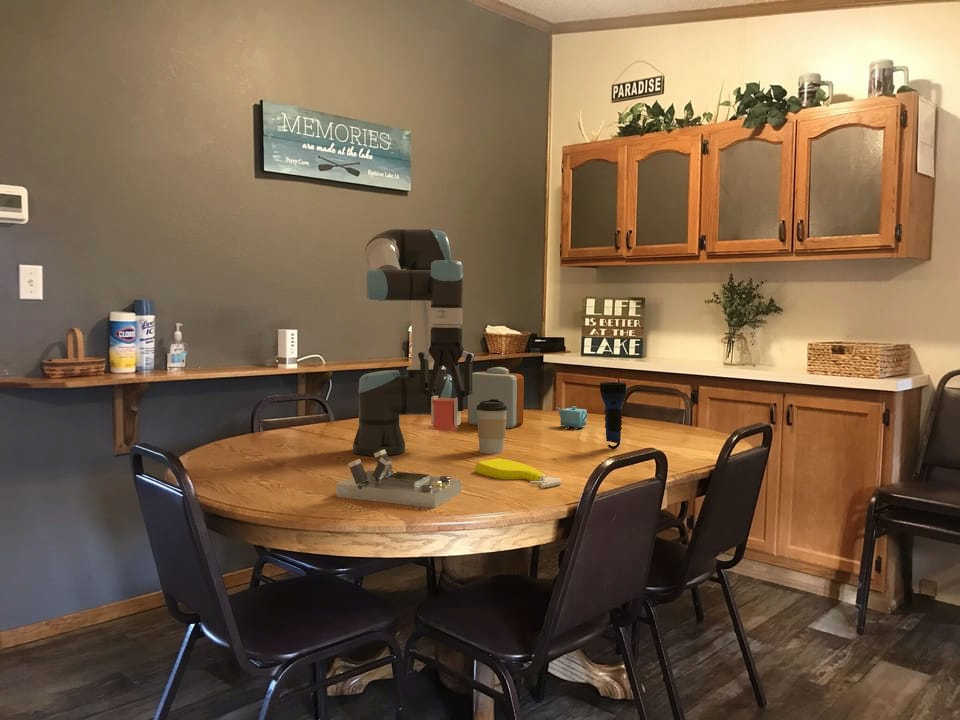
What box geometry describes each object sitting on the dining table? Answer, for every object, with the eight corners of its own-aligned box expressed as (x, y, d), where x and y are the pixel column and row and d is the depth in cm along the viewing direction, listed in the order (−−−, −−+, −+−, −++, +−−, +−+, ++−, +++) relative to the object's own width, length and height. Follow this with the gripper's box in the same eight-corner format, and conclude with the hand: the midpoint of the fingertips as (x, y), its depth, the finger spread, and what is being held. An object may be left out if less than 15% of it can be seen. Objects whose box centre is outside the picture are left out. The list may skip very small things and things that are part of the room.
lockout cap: (432, 429, 184) (432, 400, 184) (439, 426, 189) (439, 397, 188) (452, 430, 183) (452, 401, 182) (459, 427, 187) (459, 398, 187)
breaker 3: (371, 475, 178) (381, 457, 177) (376, 473, 180) (386, 455, 179) (378, 479, 177) (387, 461, 176) (383, 477, 180) (392, 459, 178)
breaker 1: (356, 484, 173) (347, 463, 173) (361, 482, 175) (353, 461, 175) (362, 481, 172) (354, 460, 172) (368, 479, 174) (359, 458, 175)
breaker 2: (381, 473, 184) (373, 453, 184) (386, 471, 186) (378, 451, 186) (388, 470, 183) (380, 450, 184) (392, 468, 185) (384, 449, 186)
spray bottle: (502, 468, 208) (570, 486, 190) (471, 473, 201) (539, 493, 183) (502, 457, 208) (571, 474, 189) (471, 462, 201) (539, 481, 182)
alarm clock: (524, 426, 276) (524, 368, 274) (511, 429, 268) (512, 369, 267) (479, 421, 285) (480, 365, 284) (466, 424, 278) (467, 366, 276)
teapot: (551, 427, 274) (552, 406, 273) (558, 425, 279) (559, 404, 278) (583, 430, 268) (583, 408, 267) (590, 428, 273) (590, 406, 272)
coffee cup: (503, 455, 223) (504, 403, 222) (473, 453, 225) (473, 402, 224) (509, 449, 232) (509, 399, 231) (479, 447, 234) (479, 398, 233)
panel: (336, 497, 174) (336, 478, 174) (368, 482, 188) (368, 465, 188) (434, 508, 166) (434, 488, 166) (461, 492, 180) (461, 474, 180)
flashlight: (593, 447, 236) (594, 381, 234) (614, 445, 240) (615, 380, 238) (609, 452, 229) (610, 384, 227) (630, 450, 233) (632, 383, 231)
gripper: (404, 326, 183) (404, 424, 185) (478, 327, 178) (477, 428, 179) (416, 325, 190) (416, 419, 192) (487, 326, 185) (486, 423, 187)
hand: (445, 423), depth 186 cm, fingers closed on lockout cap, 5 cm apart
